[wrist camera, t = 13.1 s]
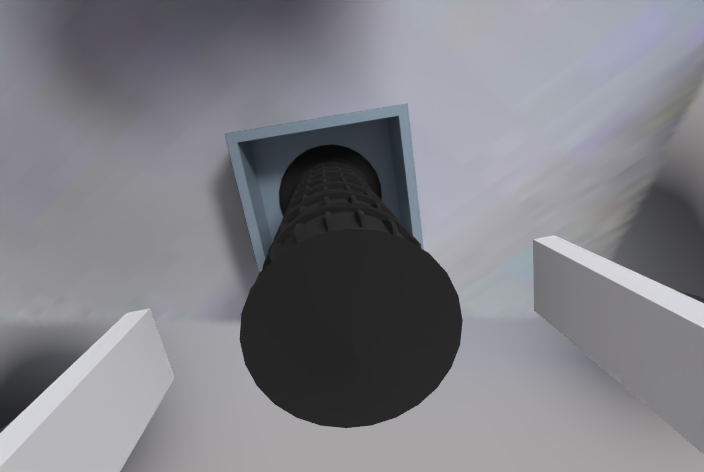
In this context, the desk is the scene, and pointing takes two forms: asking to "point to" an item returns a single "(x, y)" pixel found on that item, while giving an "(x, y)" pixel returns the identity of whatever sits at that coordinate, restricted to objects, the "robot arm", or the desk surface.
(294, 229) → the handle grip
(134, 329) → the robot arm
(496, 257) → the desk surface
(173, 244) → the desk surface
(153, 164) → the desk surface
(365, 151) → the box
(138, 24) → the desk surface
